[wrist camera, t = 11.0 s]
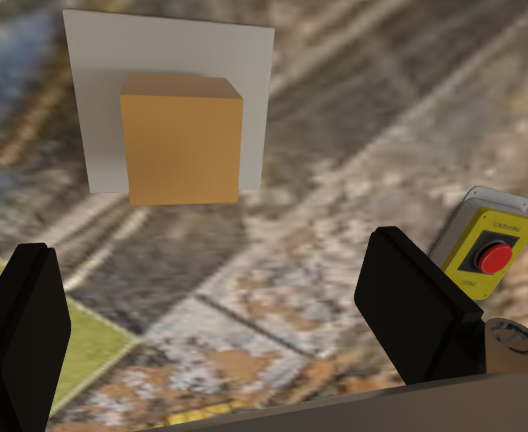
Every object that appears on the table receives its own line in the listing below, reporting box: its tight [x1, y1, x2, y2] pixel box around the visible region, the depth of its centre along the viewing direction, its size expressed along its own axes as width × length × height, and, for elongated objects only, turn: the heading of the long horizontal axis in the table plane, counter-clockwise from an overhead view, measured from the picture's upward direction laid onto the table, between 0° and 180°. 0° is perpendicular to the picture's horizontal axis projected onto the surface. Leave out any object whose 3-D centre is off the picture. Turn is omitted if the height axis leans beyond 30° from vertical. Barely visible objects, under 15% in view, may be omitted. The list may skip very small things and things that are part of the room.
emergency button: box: [429, 186, 528, 300], centre depth 42 cm, size 9×4×15 cm
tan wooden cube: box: [120, 73, 243, 206], centre depth 22 cm, size 6×6×6 cm
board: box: [62, 9, 275, 193], centre depth 24 cm, size 12×13×9 cm
